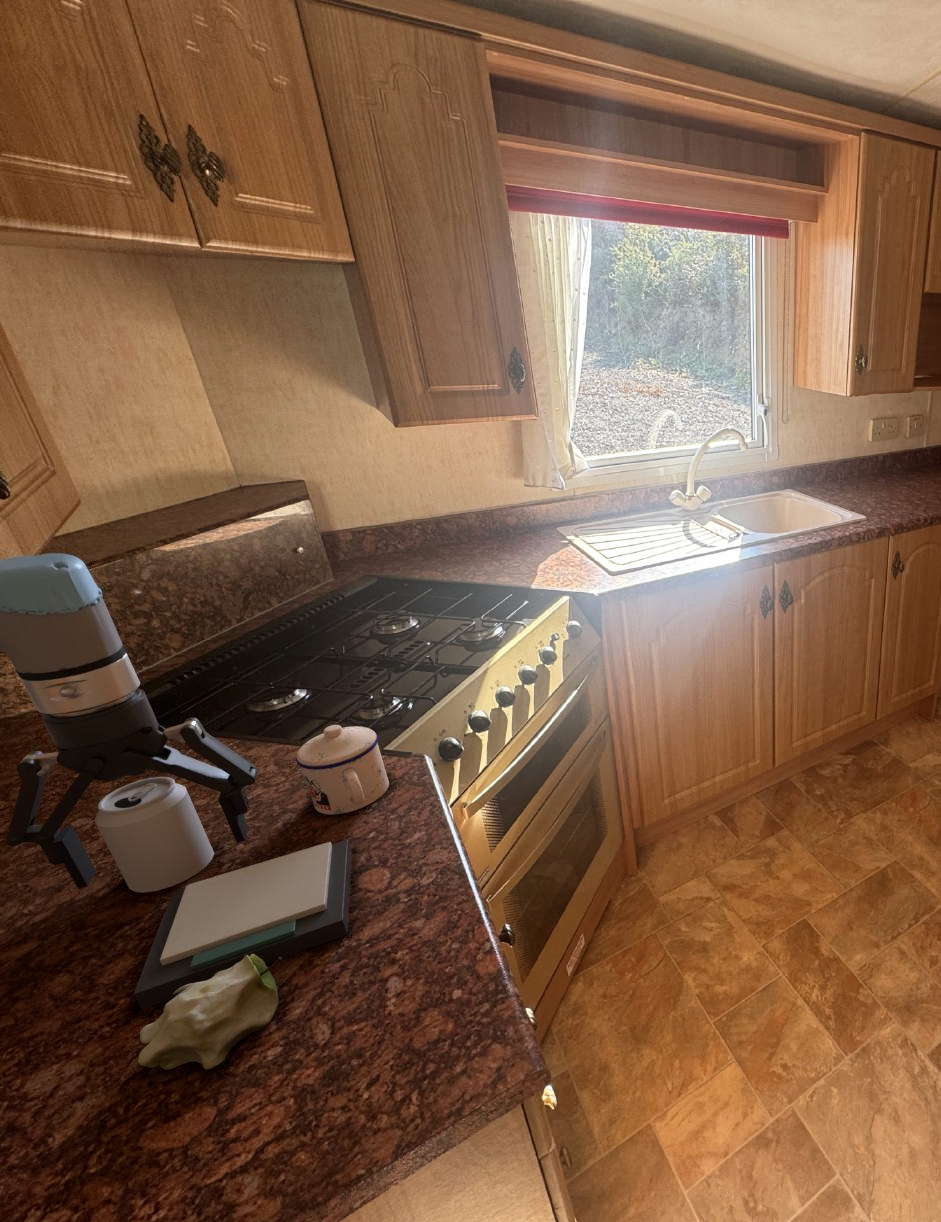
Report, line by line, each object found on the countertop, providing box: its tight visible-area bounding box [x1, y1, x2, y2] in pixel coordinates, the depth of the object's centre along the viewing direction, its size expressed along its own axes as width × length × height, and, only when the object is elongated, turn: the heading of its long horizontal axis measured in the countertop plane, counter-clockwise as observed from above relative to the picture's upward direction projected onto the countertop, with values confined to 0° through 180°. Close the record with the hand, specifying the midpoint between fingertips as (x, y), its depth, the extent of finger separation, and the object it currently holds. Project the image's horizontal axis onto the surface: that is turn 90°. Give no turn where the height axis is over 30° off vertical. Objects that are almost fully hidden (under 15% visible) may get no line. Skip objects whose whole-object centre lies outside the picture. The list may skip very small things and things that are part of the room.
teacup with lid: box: [295, 724, 390, 815], centre depth 86 cm, size 12×9×12 cm
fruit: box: [137, 954, 283, 1071], centre depth 58 cm, size 9×9×8 cm
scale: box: [133, 839, 353, 1010], centre depth 69 cm, size 16×14×4 cm
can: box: [94, 776, 215, 894], centre depth 74 cm, size 8×8×12 cm
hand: (168, 857), depth 75 cm, fingers open, 13 cm apart
